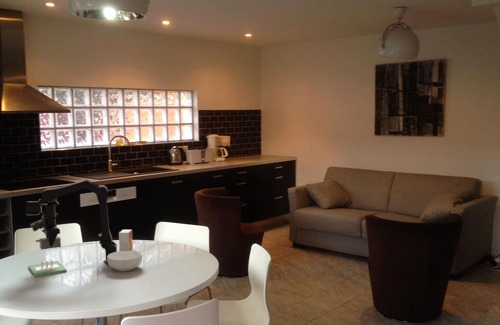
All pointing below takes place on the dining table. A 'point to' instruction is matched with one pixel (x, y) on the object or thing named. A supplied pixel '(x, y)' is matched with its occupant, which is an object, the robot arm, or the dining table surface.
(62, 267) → the pin board
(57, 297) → the dining table surface
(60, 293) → the dining table surface
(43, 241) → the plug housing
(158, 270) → the dining table surface
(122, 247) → the small box
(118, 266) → the cereal bowl
